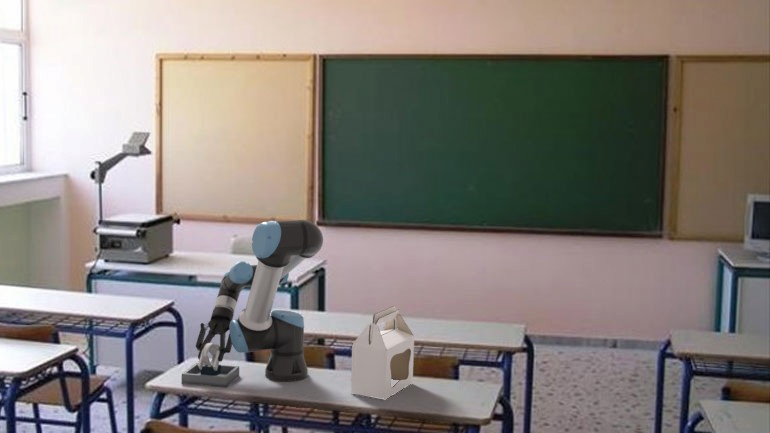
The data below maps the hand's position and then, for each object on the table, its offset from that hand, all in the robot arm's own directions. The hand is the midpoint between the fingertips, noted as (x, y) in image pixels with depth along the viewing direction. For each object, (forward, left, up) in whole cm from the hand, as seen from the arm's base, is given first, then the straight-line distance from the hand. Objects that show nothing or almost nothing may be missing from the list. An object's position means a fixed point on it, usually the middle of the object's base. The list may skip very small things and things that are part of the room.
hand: (207, 368), depth 325 cm
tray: (0, -4, -5) cm, 6 cm away
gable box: (-60, -10, -6) cm, 61 cm away
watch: (0, -4, -3) cm, 5 cm away
